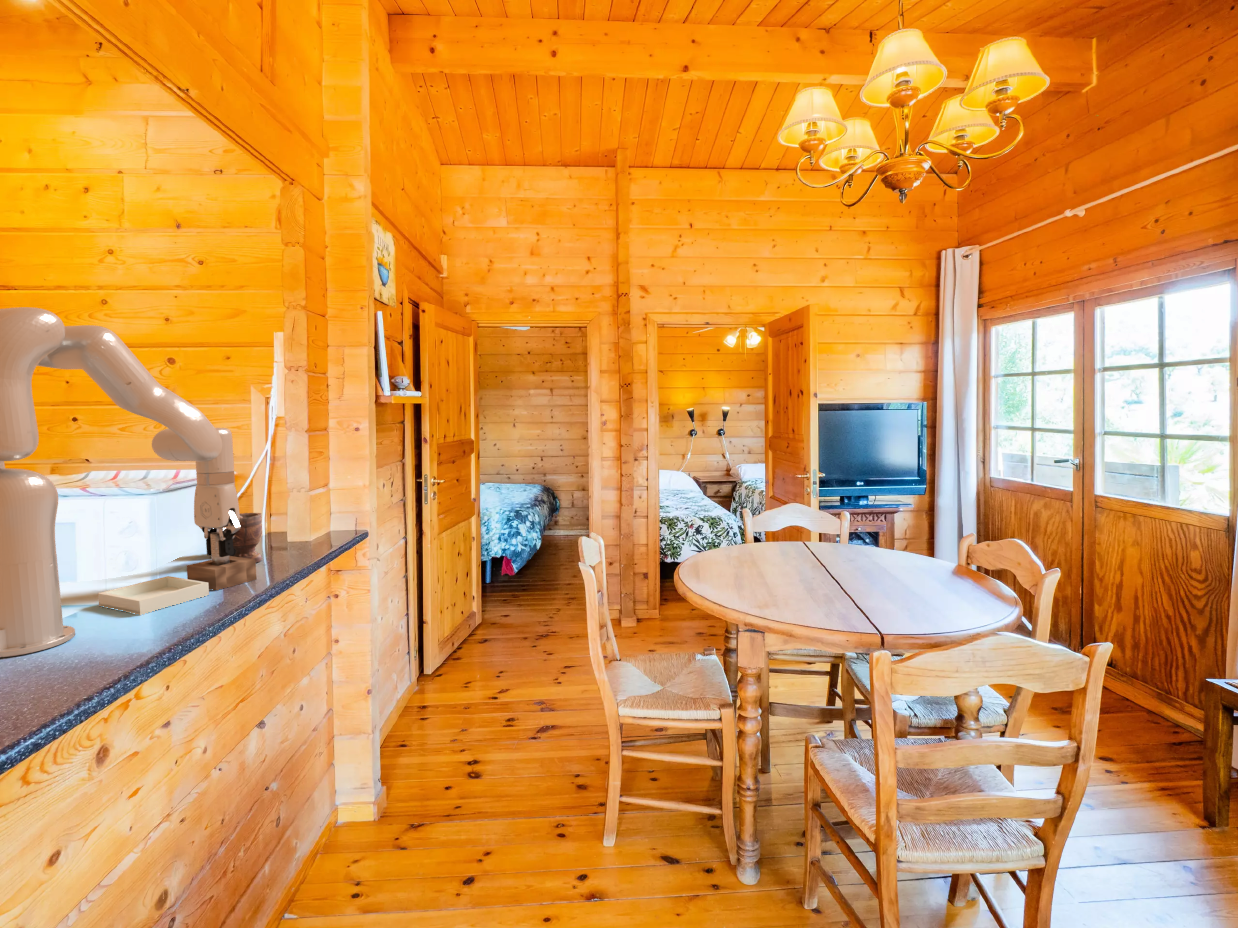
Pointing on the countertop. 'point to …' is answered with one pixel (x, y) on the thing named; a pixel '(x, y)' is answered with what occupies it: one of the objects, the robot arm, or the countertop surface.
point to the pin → (217, 551)
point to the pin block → (223, 572)
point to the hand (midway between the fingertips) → (220, 554)
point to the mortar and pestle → (248, 536)
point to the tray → (153, 594)
